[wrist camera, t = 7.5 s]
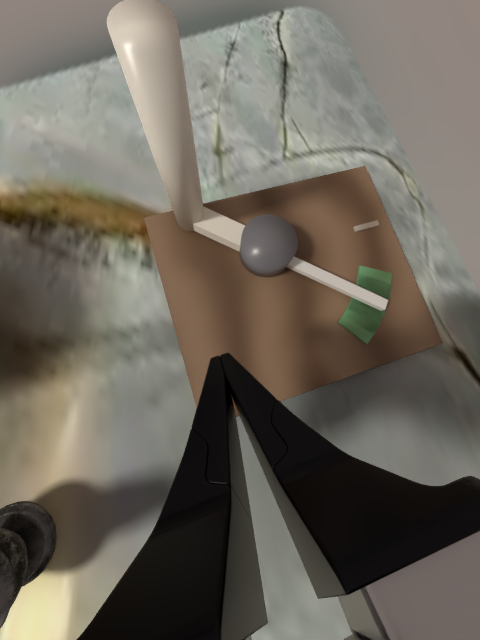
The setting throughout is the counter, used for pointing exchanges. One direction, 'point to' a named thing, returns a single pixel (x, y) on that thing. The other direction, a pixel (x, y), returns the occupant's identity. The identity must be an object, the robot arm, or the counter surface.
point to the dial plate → (294, 289)
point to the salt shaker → (22, 549)
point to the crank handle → (179, 150)
